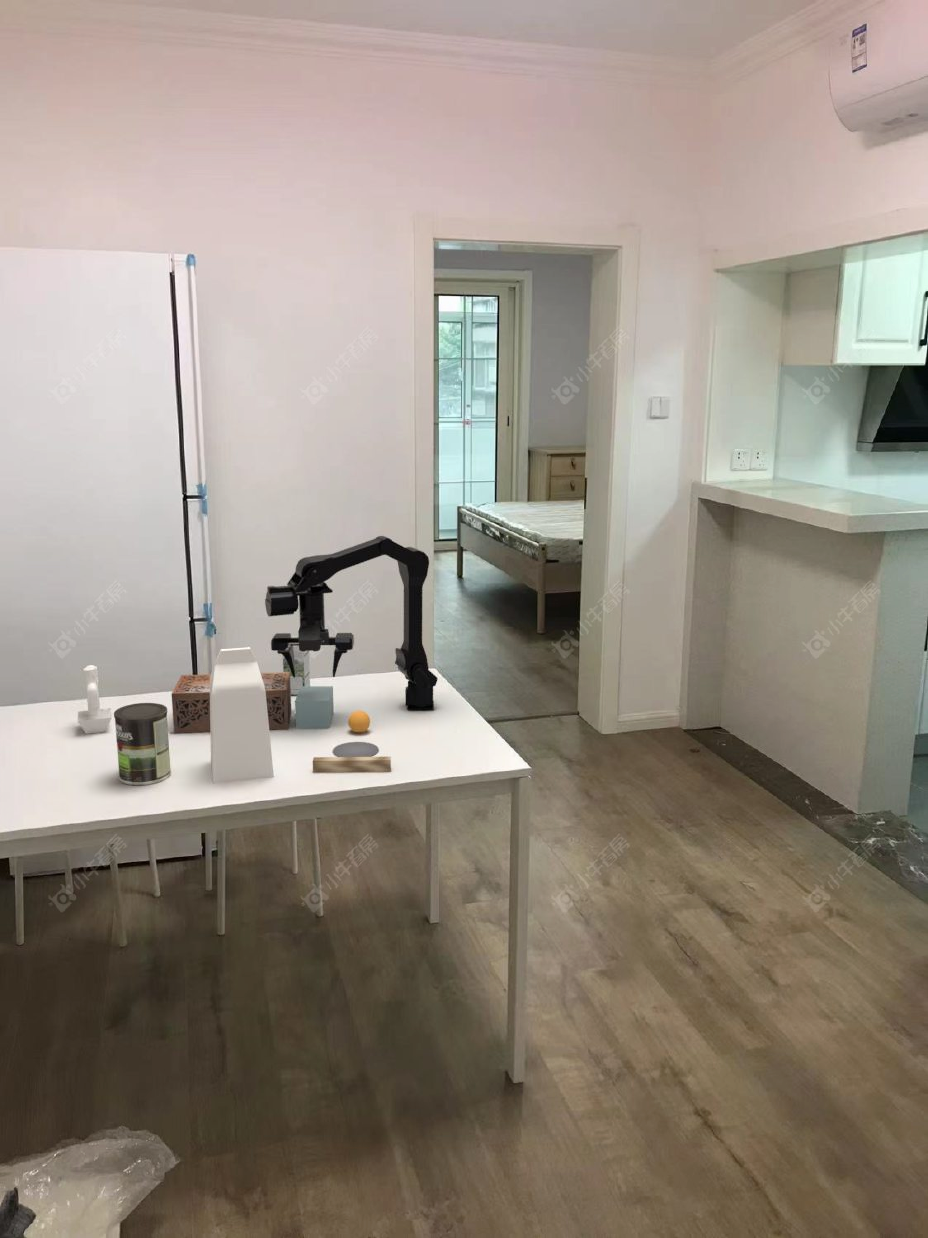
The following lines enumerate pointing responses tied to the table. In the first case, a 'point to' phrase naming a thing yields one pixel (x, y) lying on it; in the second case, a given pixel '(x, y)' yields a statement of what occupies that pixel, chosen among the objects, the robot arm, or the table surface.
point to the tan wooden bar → (351, 764)
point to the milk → (238, 718)
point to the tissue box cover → (195, 702)
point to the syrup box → (298, 670)
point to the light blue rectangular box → (314, 707)
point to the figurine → (93, 705)
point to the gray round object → (355, 749)
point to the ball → (359, 721)
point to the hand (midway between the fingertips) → (314, 676)
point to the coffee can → (142, 743)
